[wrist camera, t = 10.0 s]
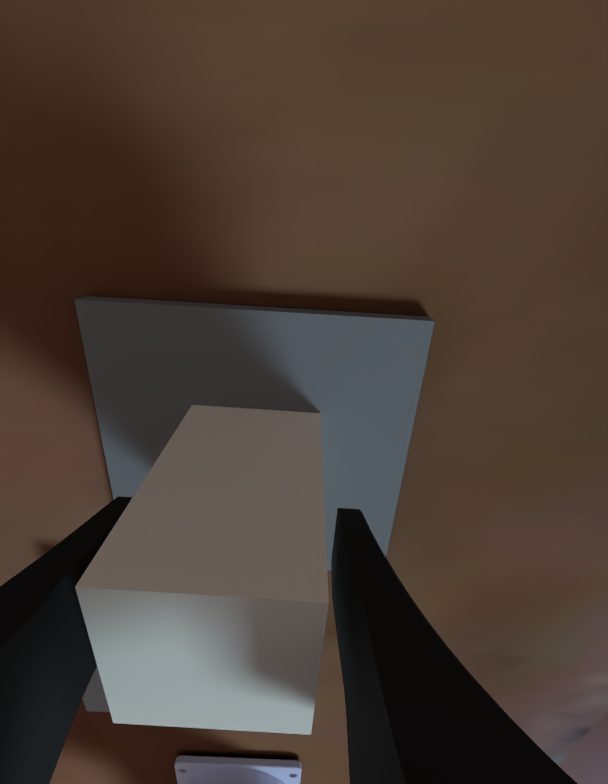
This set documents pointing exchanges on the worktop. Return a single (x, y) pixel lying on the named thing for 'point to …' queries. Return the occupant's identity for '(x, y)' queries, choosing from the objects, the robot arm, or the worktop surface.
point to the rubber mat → (260, 386)
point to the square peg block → (217, 578)
